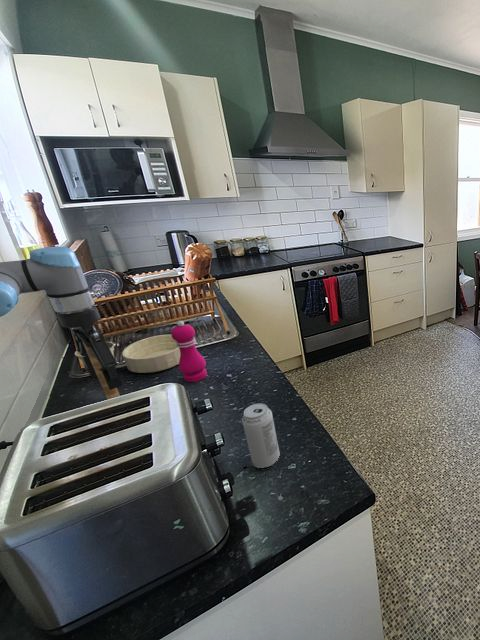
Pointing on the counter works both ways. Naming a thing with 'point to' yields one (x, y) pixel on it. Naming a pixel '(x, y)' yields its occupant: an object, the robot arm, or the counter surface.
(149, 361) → the bowl
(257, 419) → the energy drink can
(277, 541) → the counter surface
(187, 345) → the pepper mill
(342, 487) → the counter surface
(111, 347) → the flower pot
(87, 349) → the stick
